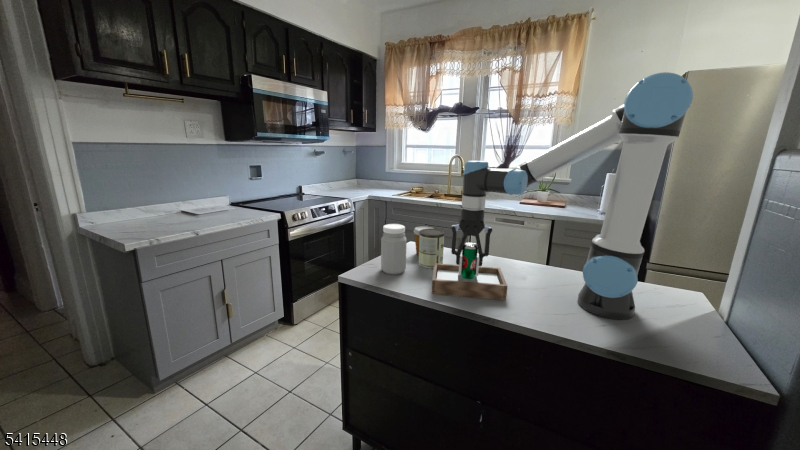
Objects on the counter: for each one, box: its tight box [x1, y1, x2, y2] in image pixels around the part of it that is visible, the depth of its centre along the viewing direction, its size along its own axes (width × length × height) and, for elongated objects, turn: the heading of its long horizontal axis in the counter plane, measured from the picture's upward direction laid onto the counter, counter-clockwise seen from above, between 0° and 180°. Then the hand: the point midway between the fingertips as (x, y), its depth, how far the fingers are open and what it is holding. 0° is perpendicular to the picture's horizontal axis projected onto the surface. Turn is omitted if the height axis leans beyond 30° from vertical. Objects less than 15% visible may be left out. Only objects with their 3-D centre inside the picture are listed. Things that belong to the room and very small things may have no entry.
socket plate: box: [436, 270, 500, 284], centre depth 114 cm, size 21×13×3 cm, turn 81°
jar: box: [380, 223, 408, 275], centre depth 125 cm, size 10×10×18 cm
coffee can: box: [418, 228, 446, 269], centre depth 133 cm, size 10×10×14 cm
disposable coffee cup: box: [413, 225, 434, 257], centre depth 146 cm, size 10×10×12 cm
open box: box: [431, 263, 508, 301], centre depth 113 cm, size 24×16×5 cm, turn 81°
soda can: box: [461, 242, 478, 279], centre depth 112 cm, size 5×5×12 cm
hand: (468, 273), depth 113 cm, fingers closed on soda can, 5 cm apart
